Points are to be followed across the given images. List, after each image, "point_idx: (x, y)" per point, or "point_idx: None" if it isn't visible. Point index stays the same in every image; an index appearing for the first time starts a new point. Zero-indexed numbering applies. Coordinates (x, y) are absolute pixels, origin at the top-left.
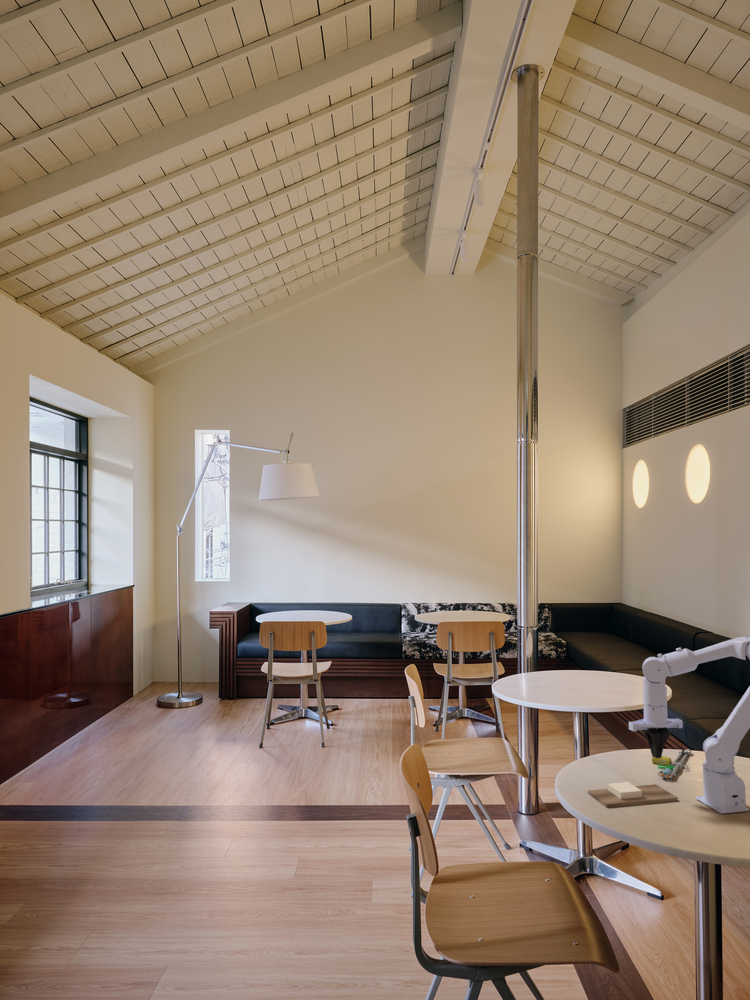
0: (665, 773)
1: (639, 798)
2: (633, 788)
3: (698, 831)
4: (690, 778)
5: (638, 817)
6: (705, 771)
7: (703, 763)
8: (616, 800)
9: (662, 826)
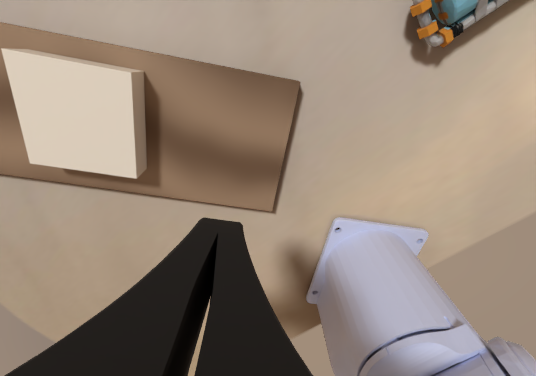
0: (446, 5)
1: None
2: (113, 147)
3: None
4: (527, 55)
5: (69, 248)
6: (359, 349)
7: (402, 350)
8: (27, 156)
9: (109, 298)
